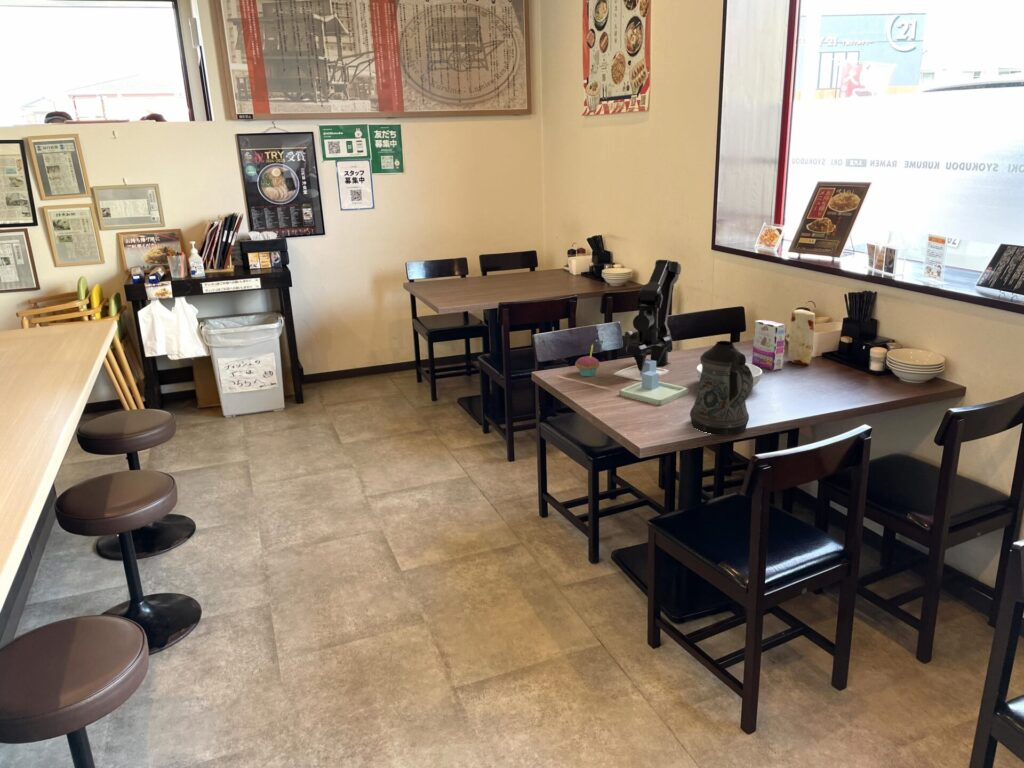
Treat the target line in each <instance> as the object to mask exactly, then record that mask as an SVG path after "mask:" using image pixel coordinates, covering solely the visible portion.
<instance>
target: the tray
mask: <svg viewBox="0 0 1024 768" xmlns="http://www.w3.org/2000/svg"><path fill="white" fill-rule="evenodd" d="M618 391H619V393H618V394H619V395H618V396H620V395H621V396H620V397H624V396H625V398H628V397H629V399H632V400H635V399H636V400H637V401H639V400H640V402H643V403H644V402H645V403H647V402H648V403H647V404H652V405H655V406H659V407H660V406H663V405H666V404H667V403H670V402H671V401H674V400H676V399H678V398H681V397H683V396H686V395H687V394H689V387H684V386H681V385H678V384H677V385H676V384H672V383H668V382H667V383H666V382H662V381H660V380H659V387H658V388H656V389H654V390H648V389H644V388H642V381H638V382H637V383H634V384H631V385H629V386H626V387H624V388H622V389H619V390H618ZM636 400H635V401H636Z"/></svg>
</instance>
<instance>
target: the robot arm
mask: <svg viewBox="0 0 1024 768" xmlns="http://www.w3.org/2000/svg"><path fill="white" fill-rule="evenodd" d="M681 272H682V265H681V264H680V263H679V262H678V261H671V260H669V259H657V260H655V265H654V269H653V271H652V273H651V275H650V278H649V281H648V283H646V284H644V285H643V286H642V287H641V288H640V291H638V294H637V299H636V303H635V308H634V310H635V311H638V314H637V315H636V316H635V317H634V318H633V320H632V325H633V328H634V329H635V330H636V331H633V332H632V330H629V331H625V332H624V340H625V341H626V342H627V343H628V344H627V346H626V347H625V348H626V349H625V350H626V353H627V354H629V355H631V356H632V357H633V358H634V360H635V363H636V365H637V366H638V369H639V371H642V370H643V367H644V363H645V360H646V359H647V355H648V353H647V351H648V350H650V360H654V361H656V367H657V368H663V367H666V366H668V365H671V364H672V363H671V362H669V358H668V357H669V355H668V354H669V352H671V351H673V350H674V342H673V339H672V335H671V331H670V328H669V326H668V319H669V312H670V307H671V306H670V305H671V299H672V291H673V286H674V285H675V284H676V283H677V282H678V280H679V276H680V275H681Z"/></svg>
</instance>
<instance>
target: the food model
mask: <svg viewBox="0 0 1024 768" xmlns="http://www.w3.org/2000/svg"><path fill="white" fill-rule="evenodd" d="M790 319H791V320H790V326H789V336H788V347H787V348H788V351H787V352H788V353H787V354H788V355H787V357H788V360H789V361H790V362H791V363H793V364H794V363H795V364H797V365H802V366H805V365H809V364H810V362H811V359H812V355H813V349H814V344H815V331H816V329H815V328H816V314H815V312H812V311H809V310H805V309H802V308H801V309H794V310H792V312H791V318H790Z"/></svg>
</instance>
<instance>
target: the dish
mask: <svg viewBox="0 0 1024 768" xmlns="http://www.w3.org/2000/svg"><path fill="white" fill-rule="evenodd" d="M669 372H670V370H669V369H664V368H662V367H656V373H659V377H660V376H662V375H665V374H668V373H669ZM612 375H613V376H616V377H621V378H626V379H630V380H634V381H638V382H641V381H642V375H640V371H639V369H638V366H637V364H634V365H631V366H629V367H626V368H623V369H621V370H618V371H615V372H613V373H612Z"/></svg>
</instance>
